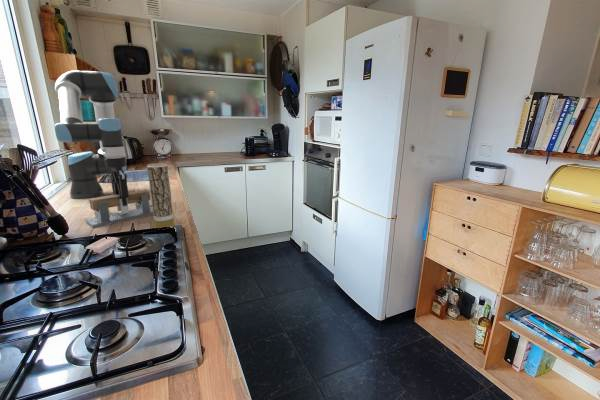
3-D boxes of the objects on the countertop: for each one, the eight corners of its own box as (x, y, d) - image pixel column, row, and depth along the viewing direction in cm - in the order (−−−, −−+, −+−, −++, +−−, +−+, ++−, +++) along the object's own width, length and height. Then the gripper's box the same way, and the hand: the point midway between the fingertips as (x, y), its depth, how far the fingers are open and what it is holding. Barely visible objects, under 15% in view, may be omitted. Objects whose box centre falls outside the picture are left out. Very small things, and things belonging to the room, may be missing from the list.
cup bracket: (85, 221, 126) (81, 200, 123) (150, 208, 144) (147, 190, 142) (92, 227, 119) (88, 205, 117) (159, 213, 138) (157, 193, 135)
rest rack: (97, 212, 139) (95, 201, 138) (141, 203, 152) (139, 194, 151) (101, 214, 135) (99, 203, 134) (146, 206, 149) (144, 196, 147)
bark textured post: (167, 232, 115) (159, 166, 109) (151, 230, 117) (142, 165, 110) (177, 225, 122) (171, 163, 115) (162, 224, 123) (155, 162, 116)
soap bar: (120, 243, 106) (119, 237, 105) (100, 255, 97) (99, 247, 96) (106, 242, 106) (105, 236, 106) (85, 253, 98) (84, 246, 97)
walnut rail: (90, 208, 124) (89, 198, 123) (146, 198, 139) (145, 189, 138) (93, 210, 121) (91, 200, 120) (150, 199, 137) (149, 191, 136)
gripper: (98, 156, 128) (107, 209, 134) (111, 160, 117) (120, 218, 123) (117, 154, 133) (125, 206, 139) (132, 158, 122) (140, 213, 128)
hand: (123, 211), depth 131 cm, fingers closed on walnut rail, 4 cm apart
